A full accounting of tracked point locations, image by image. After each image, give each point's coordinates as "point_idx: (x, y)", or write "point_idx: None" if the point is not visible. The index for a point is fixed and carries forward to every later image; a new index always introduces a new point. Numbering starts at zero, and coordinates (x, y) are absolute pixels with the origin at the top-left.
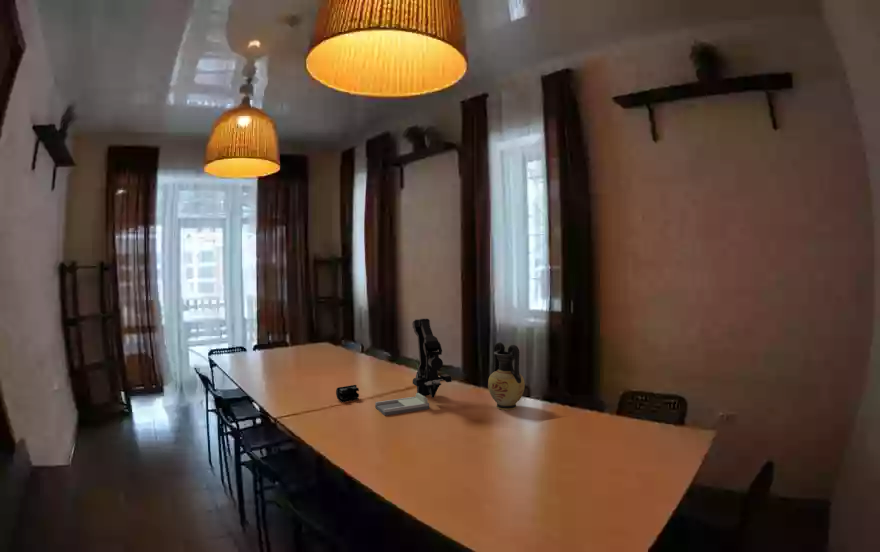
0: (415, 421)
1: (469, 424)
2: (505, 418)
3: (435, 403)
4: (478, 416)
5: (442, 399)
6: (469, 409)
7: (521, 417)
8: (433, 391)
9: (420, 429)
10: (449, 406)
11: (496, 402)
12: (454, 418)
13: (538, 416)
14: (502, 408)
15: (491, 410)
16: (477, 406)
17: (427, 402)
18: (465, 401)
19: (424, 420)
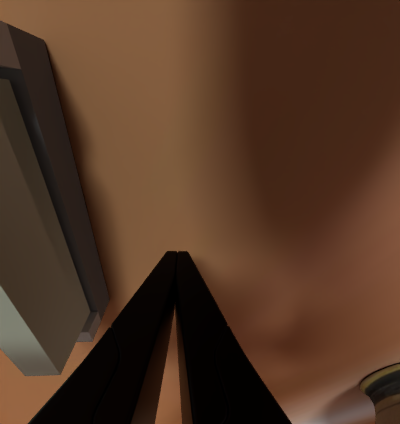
0: (4, 386)
1: (181, 420)
2: (292, 415)
3: (205, 219)
4: None
5: (345, 135)
6: (284, 358)
7: (327, 417)
8: (159, 387)
9: (23, 419)
10: (244, 306)
11: (390, 402)
12: (168, 394)
13: (360, 419)
14: (364, 392)
15: (331, 380)
16: (344, 345)
17: (80, 330)
18: (397, 272)
19: (47, 386)
